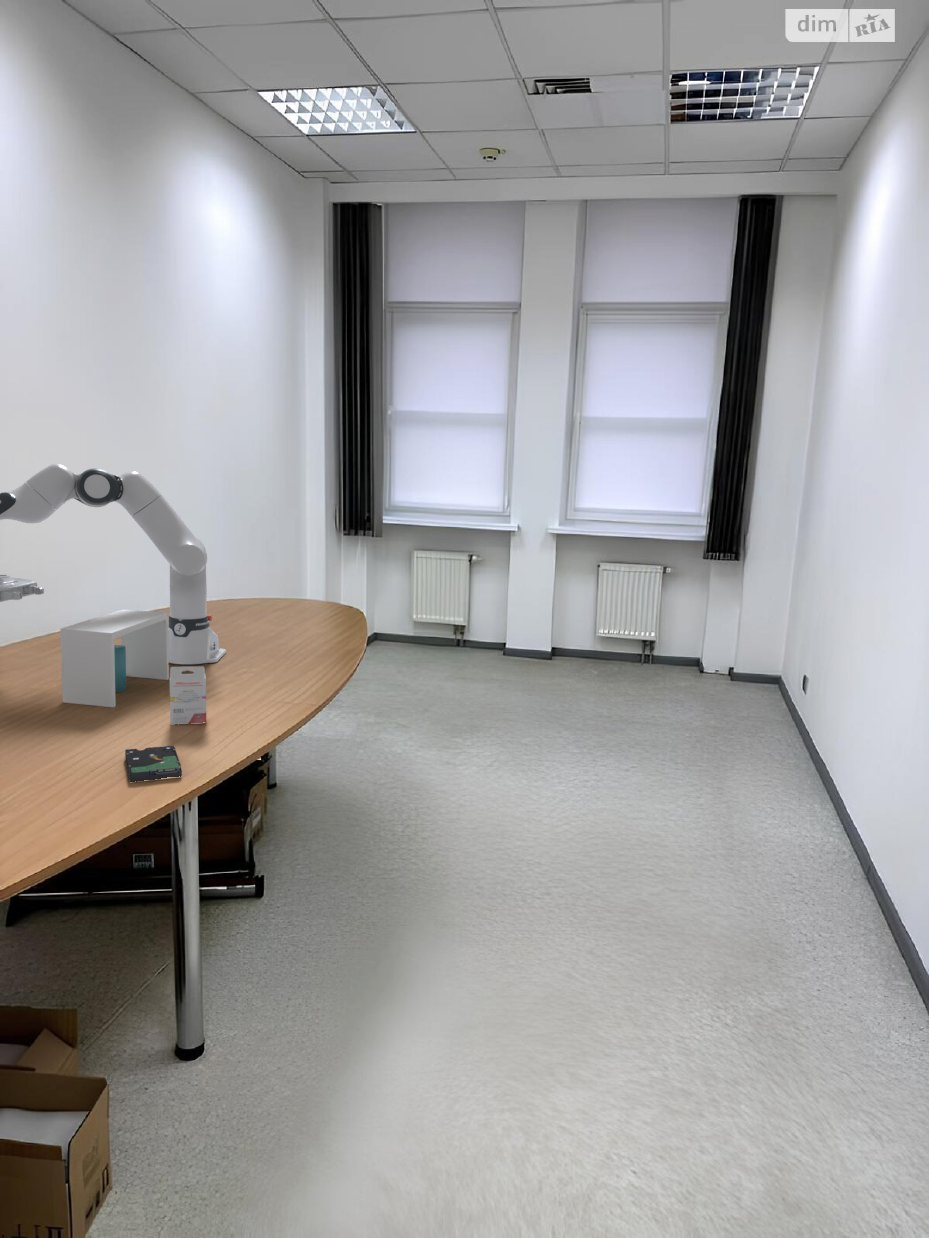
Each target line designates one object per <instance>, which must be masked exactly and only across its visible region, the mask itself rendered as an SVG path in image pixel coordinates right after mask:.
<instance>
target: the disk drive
mask: <svg viewBox="0 0 929 1238" xmlns="http://www.w3.org/2000/svg"><path fill="white" fill-rule="evenodd" d="M124 755H125V757H124V759H125V763H126V769H128V770H127V774H129V775H128V780H130V781H129V783H130V782H135V781H136V783H138V782H137V781H144V780H155V779H161V778H167V777H179V776H180V777H181V776H182V775H183V770H182V764H181V762H180V759H179V756H178V753H177V750H176V747H175V745H163V746H152V747H146V748H143V749H140V750H138V749H137V748H130V749H129V748H128V749H125V753H124ZM182 777H183V776H182ZM155 781H156V780H155Z"/></svg>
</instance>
